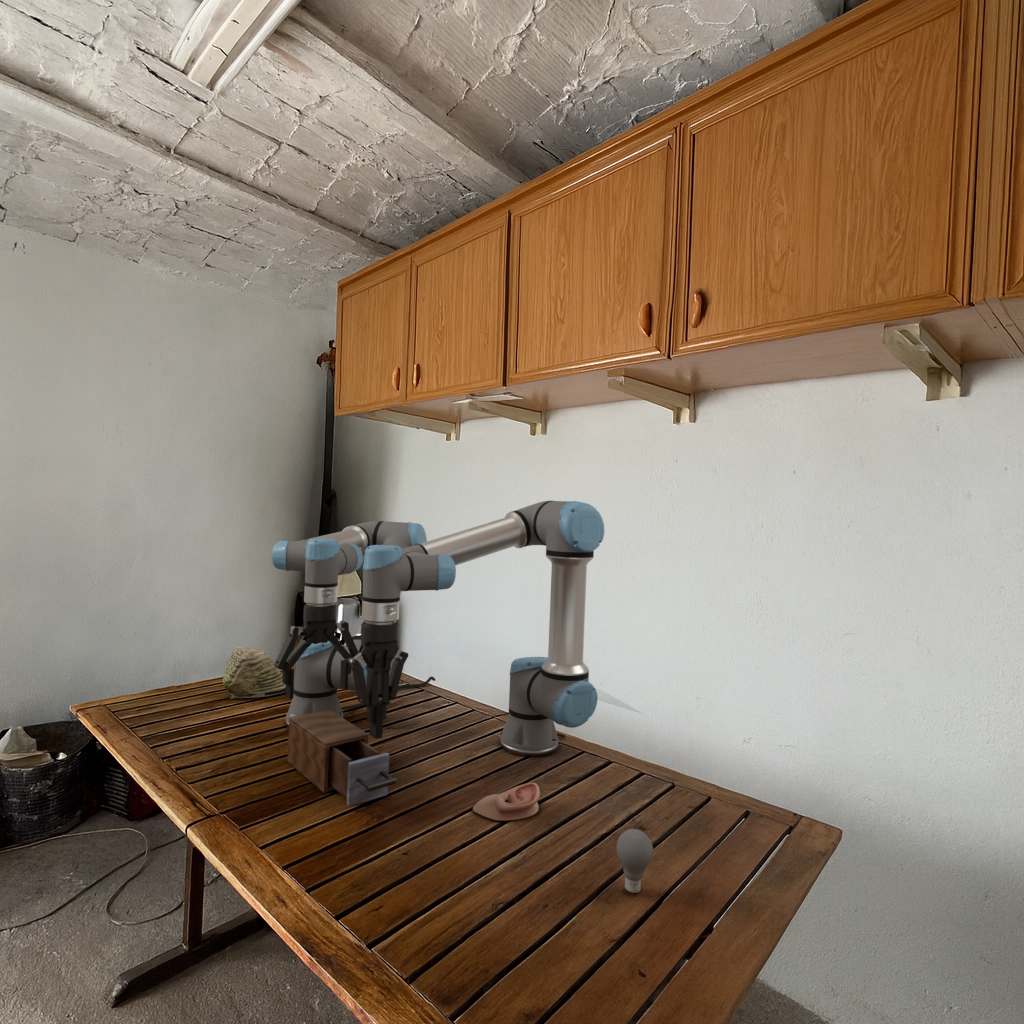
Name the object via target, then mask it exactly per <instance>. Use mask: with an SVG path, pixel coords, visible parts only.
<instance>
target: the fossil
mask: <svg viewBox="0 0 1024 1024" xmlns="http://www.w3.org/2000/svg"><path fill="white" fill-rule="evenodd" d="M274 661H275V660H273V659H272V658H271V657H270V656H269V655H268V654H267V653H266V652H265V650H264V649H263V648H260V647H258V648H251V647H247V646H246V647H245V646H238V647H237V648H236V649H235V650H233V651H232V653H231V656H230V657H229V659H228V660H227V663H226V666H225V668H224V671H223V675H222V676H223V677H222V685H223V687H224V688H225V690H226V691H228V693H229V698H230V699H250V698H264V697H271V696H275V695H281V694H284V693H285V692H286V685H285V684H283V682H282V672H281V669H278V668H277V667H275V666H274V663H275V662H274Z"/></svg>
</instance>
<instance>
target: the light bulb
mask: <svg viewBox="0 0 1024 1024" xmlns="http://www.w3.org/2000/svg"><path fill="white" fill-rule="evenodd" d="M615 849H616V854H617V857H618V859H619V861H620V863H621V865H622V867H623V873H624V874H623V875H624V876H625V878H624V888H625V890H627V891H628V892H630V893H634V894H635V893H639V892H640V891H641V889H642V887H641V886H642V879H643V877H644V875H645V871H646V868H647V867H648V866H649V864H650V863H651V861H652V859H653V855H654V847H653V843H652V841H651V838H649V836H648V835H647V834H646V833H645V832H643V831H642V830H641V829H636V828H629V829H627V830H625V831H623V832H622V833H621V834H620V835H619V837H618V839H617V841H616V847H615Z"/></svg>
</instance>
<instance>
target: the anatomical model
mask: <svg viewBox="0 0 1024 1024" xmlns="http://www.w3.org/2000/svg"><path fill="white" fill-rule="evenodd" d="M540 791H541V790H540V787H539V785H538V784H537V783H535V782H527V783H523V784H520V785H517V786H515V787H512V788H510V789H508V790H506V791H503V792H499V793H496V794H490V795H486V796H485V797H483V798H481V799H480V800H478V801H477V802H476V803H475V804H474V805H473V807H472V811H473V812H474V813H475V814H478V815H480V816H482V817H484V818H487V819H490V820H493V821H499V822H504V821H505V822H507V821H516V820H521V819H526V818H529V817H532V816H534V815H536V814H537V813H538V811H539V803H538V801H539V799H540V796H541V792H540Z"/></svg>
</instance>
